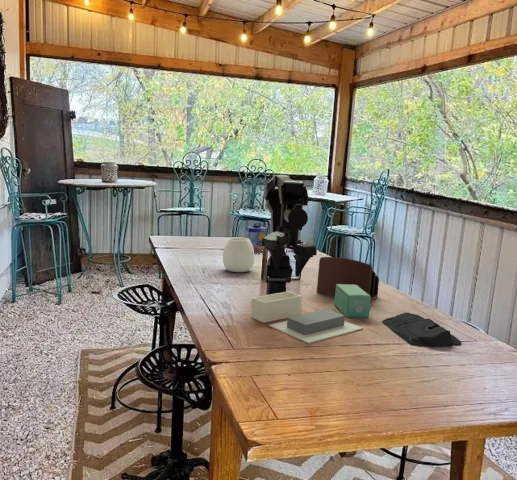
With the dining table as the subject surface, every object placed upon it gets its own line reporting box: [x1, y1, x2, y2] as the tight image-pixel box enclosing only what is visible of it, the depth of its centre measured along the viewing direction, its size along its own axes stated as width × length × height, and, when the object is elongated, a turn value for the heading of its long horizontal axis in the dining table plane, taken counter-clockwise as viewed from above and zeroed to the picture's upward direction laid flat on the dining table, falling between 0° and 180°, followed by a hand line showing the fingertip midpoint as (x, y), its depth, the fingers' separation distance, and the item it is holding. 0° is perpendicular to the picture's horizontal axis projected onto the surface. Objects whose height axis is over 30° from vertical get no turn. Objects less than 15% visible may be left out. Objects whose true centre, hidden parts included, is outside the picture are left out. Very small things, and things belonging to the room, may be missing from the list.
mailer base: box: [250, 291, 303, 324], centre depth 152 cm, size 6×15×6 cm, turn 129°
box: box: [333, 284, 372, 319], centre depth 161 cm, size 7×14×8 cm, turn 9°
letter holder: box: [316, 256, 380, 302], centre depth 181 cm, size 10×20×14 cm, turn 58°
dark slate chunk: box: [381, 312, 462, 348], centre depth 144 cm, size 15×22×5 cm
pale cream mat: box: [268, 320, 364, 345], centre depth 144 cm, size 16×22×1 cm
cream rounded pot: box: [222, 236, 255, 273], centre depth 209 cm, size 13×13×14 cm
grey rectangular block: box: [286, 308, 346, 335], centre depth 143 cm, size 7×16×3 cm, turn 129°
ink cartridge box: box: [245, 223, 268, 251], centre depth 255 cm, size 10×6×14 cm, turn 112°
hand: (286, 273), depth 154 cm, fingers open, 9 cm apart
